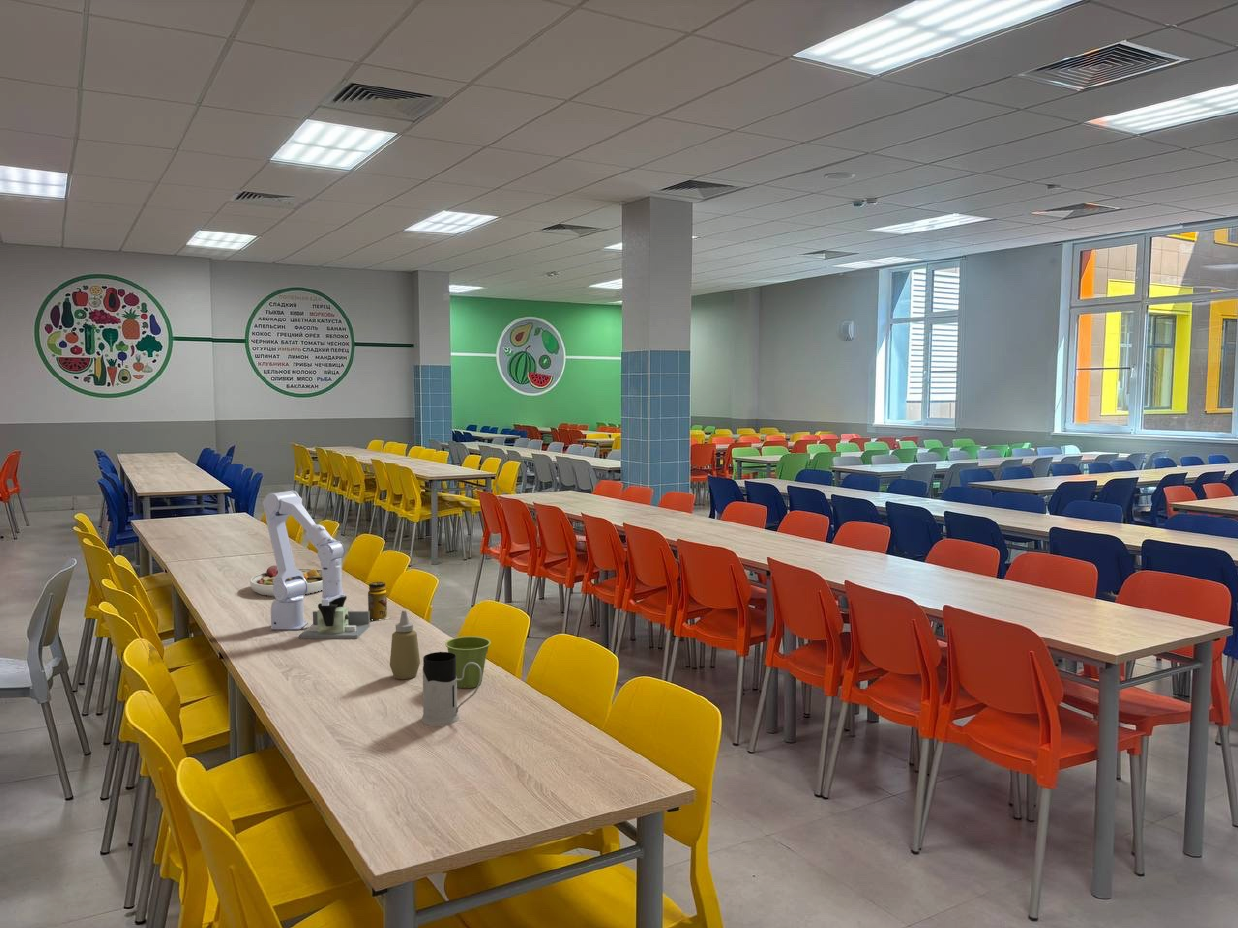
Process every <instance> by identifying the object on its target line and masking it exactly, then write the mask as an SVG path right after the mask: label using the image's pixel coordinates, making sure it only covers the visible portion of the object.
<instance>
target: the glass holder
mask: <svg viewBox="0 0 1238 928" xmlns="http://www.w3.org/2000/svg"><path fill="white" fill-rule="evenodd" d="M422 658H423V661H422V662H423V663H422V664H423V665H422V710H423V711H422V712H423V714H422V717H421V719H420V722H421V723H423V724H424V725H427V726H430V727H443V726H449V725H452V724H453V725H454V724H455V723H457V722H458V721H459V720H458V719H460V715H459V714H458V712H459V708H460V707H461V706H462V705H464V704H465V703H466V702H467V701H469V700H470V699H471V698H472V697H473V696H474V695H475V694H477V691H478V689H479V687H480V682H481V675H482V672H481V668H480V666H479V665H478V664H477V663H474V662H470V663H467V664H466V665H465V666H464V668H463V671H462V678H461V679H457V676H456V655H455V654H453V653H449V652H448V651H438V652H431V653H427V654H425V655H424V656H423V657H422ZM469 664H474V665H476V666H477V667H478V668H479V671H480V679H479V683H478V686H477V687H475V690H474V691H473V692H472V693H471V694H470V695H469V696H468V697H467V698H465V699H464V700H463V701H462V702H461V703H460V704H459V705H458V687H457V681H460V680H462V679H463V678H464V671H465V668H466V666H468V665H469ZM481 683H482V682H481Z"/></svg>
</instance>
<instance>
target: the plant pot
mask: <svg viewBox="0 0 1238 928" xmlns="http://www.w3.org/2000/svg"><path fill="white" fill-rule="evenodd" d="M491 643H492V642H491V640H490V639H488V638H486V637H481V636H473V635H472V636H470V635H469V636H459V637H454V638H451V639H448V640H446V641H445V642H444V645H445V648H447V652H449V653H453V654H455V655H456V676H457V679H461V678H462V671H463V668H464V666H465V665H466V664H467V663H470V662H474V663H477V664H478V665H479V666H480V668H481V672H482V675H481V682H480V685H481V684H482V682H483V677H484V671H485V669H484V668H485V664H486V659H487V654H488V652H489V651H488V650H489V647H490V645H491ZM479 679H480V671H479V668H478V667H477V666H476V665H474V664H469V665H468V666H466V668H465V671H464V678H463V679H462V680H460V681H457V688H460V689H463V688H468V689H473V688H477V686H478V683H479ZM480 685H479V686H480Z"/></svg>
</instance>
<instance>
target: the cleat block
mask: <svg viewBox="0 0 1238 928" xmlns="http://www.w3.org/2000/svg"><path fill="white" fill-rule="evenodd" d="M316 611H317V617H318V633H344V632H345V625H348V619H349V614H348V611H349V607H348V606H343V607H337V608H336V610H335V614H334V623H333V626H325V623H324V619H323V616H322V613H321V611H320V610H319V609H318V610H316Z"/></svg>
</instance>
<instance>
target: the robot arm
mask: <svg viewBox="0 0 1238 928" xmlns="http://www.w3.org/2000/svg"><path fill="white" fill-rule="evenodd" d="M262 505H263V509H264V510H263V511H264V514H265V521H266V526H267V530H268V535H269V539H270V543H271V546H272V547H271V548H272V552H273V556H274V560H275V564H276V565H275V566H277V569H278V574H277V575H276V576H275V577H274V579H273V594H274V596H273V597H274V598H275V599H274V600H273V601H272V602H271V606H270V624H271V625H270V628H269V629H270V630H278V631H279V630H285V631H286V630H288V631H289V630H292V631H293V630H294V631H295V630H296V631H297V630H301V629H303V627H305V626H306V625H307V624H308V623H309V622H308V621H304V599H305V597H306V595H305V594H306V593H307V591H308V583H307V581H306V580H305V578H304V575H303V573H302V572H301V571H299V570H298V569H299V568H297V567H296V564H295V559H294V555H293V551H292V546H291V543H290V539H289V533H288V529H287V525H286V520H287V518H288V517H290V516H292V517H293V518H294V520H295V521H296V522H297V523H299V525H300V526H301V527H302V528H303V529H304V530H305V531H306V533H305V536H306V538H307V539H308V541H309V542H310V543H311V544H312V545H313V546H314V547H315V549H316V550H317V552H316V553H317V557H318V559H319V561H320V566H321V570H322V577H323V590H322V595H321V596H322V597H321V603H319V604H317V608H318V610H320V611H321V613H322V616H323V619H324V623H325V626H333V623H334V614H335V610H336V608H337V607H344V605H345V602H346V600H347V596H346V595H347V594H346V592H345V593H344V589H343V584H342V583H343V582H342V581H343V580H342V578H343V577H342V576H343V575H342V559H343V558H344V557H345V553H346V548H345V546H344V545H345V544H344V543H343V542H342V541H340V540H336V538H333V537H332V536H331V534H330V533H329V532H328V531H327V530H326V528H325V526H324V525H322V524H317V523H316V522H315V521H314V519H313V518H312V517H311V515H310V513H309V512H308V510H306V508H305V506H304V505H303V498H302V497H301V496H300V495H299V493H298V492H297V491H296V490H287V491H281V492H279V491H278V492H270V493H267V494H266V495H265V497H264V499H263V501H262ZM288 578H291V579H290V580H286V579H288ZM285 580H286V581H285Z"/></svg>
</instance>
